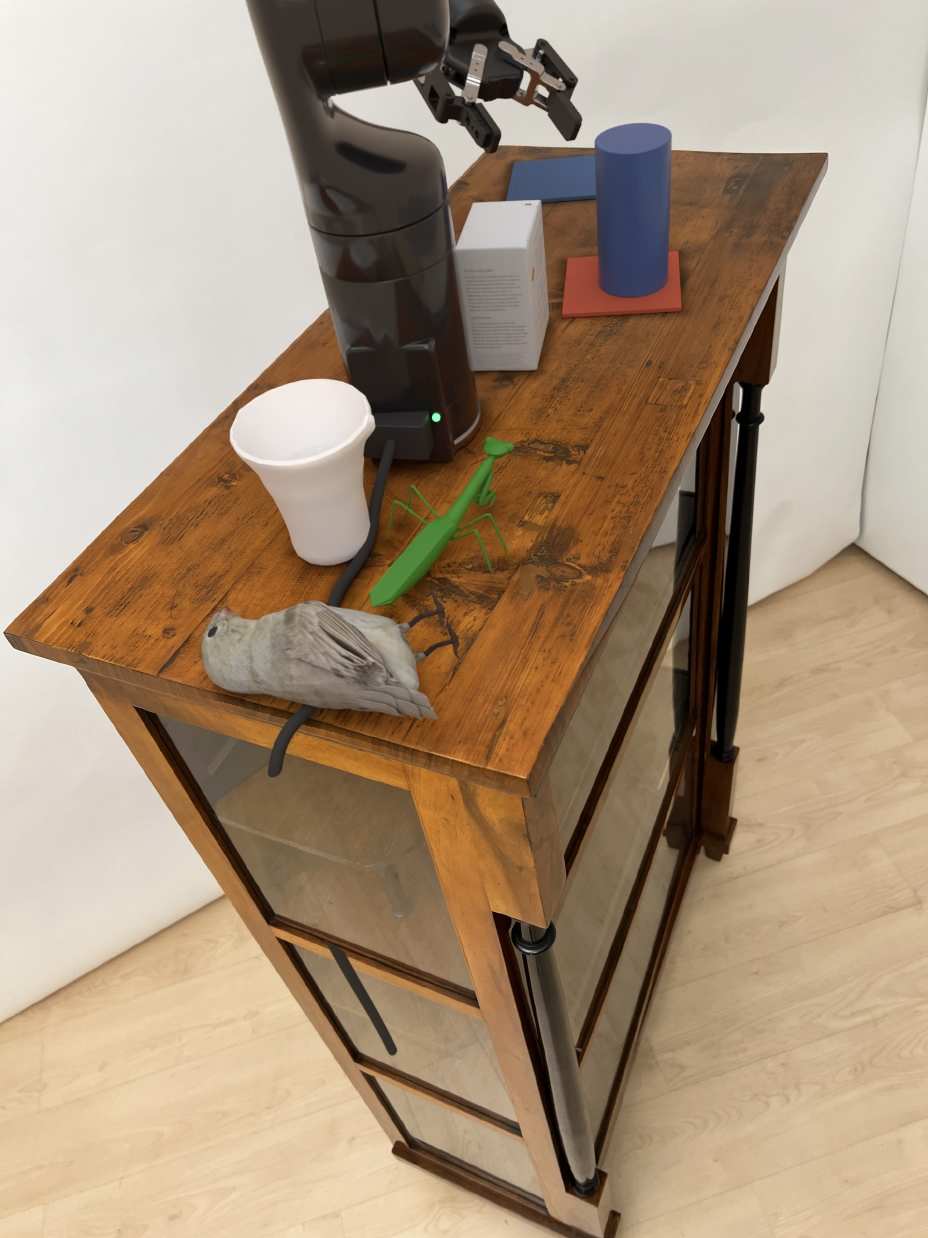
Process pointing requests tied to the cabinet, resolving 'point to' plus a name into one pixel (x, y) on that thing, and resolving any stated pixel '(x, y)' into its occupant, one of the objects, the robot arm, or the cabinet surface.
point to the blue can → (633, 208)
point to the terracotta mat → (593, 301)
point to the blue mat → (553, 179)
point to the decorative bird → (322, 657)
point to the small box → (504, 284)
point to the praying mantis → (439, 531)
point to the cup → (311, 462)
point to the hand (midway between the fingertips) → (536, 138)
